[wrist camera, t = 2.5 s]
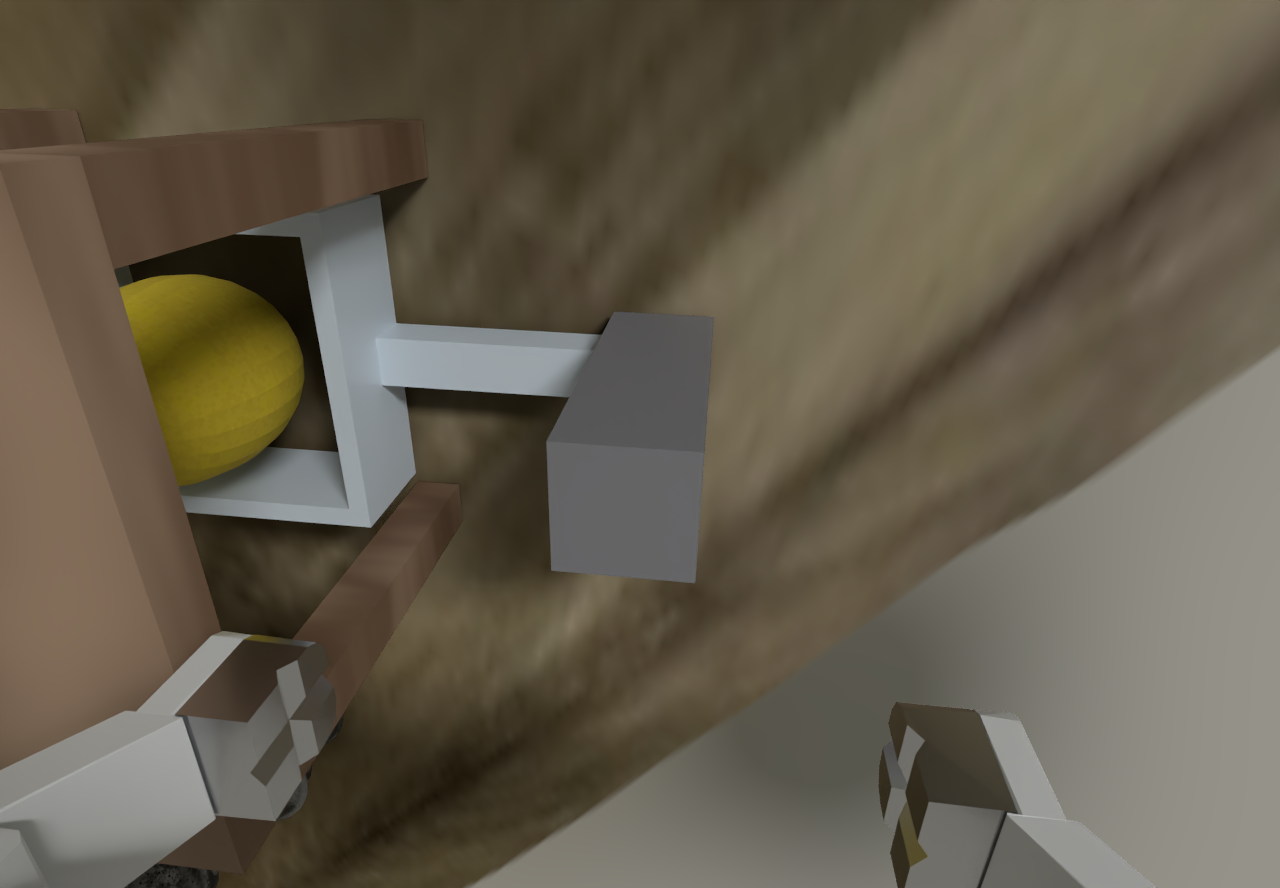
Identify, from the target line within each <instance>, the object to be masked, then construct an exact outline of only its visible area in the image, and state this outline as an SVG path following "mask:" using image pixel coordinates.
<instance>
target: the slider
mask: <svg viewBox="0 0 1280 888" xmlns="http://www.w3.org/2000/svg"><path fill="white" fill-rule="evenodd" d="M236 234H245V235H267V236H289V237H300V240H301V245H302V251H303V257H304V262H305V268H306V273H307V279H308V284H309V290H310V295H311V301H312V306H313V312H314V317H315V323H316V328H317V334H318V340H319V345H320V351H321V356H322V362H323V367H324V373H325V378H326V384H327V389H328V395H329V400H330V406H331V411H332V417H333V423H334V428H335V434H336V439H337V445H338V450H339V452H330V451H316V450H303V449H289V448H275V447H266V448H265V449H263V450H262V451H261V452H260V453H259V454H257V455H256V456H255V457H253V458H252V459H250V460H249V461H247V462H246V463H244V464H242V465H240V466H238V467H236V468H234V469H231V470H229V471H227V472H224V473H222V474H220V475H217V476H215V477H213V478H211V479H208V480H205V481H202V482H199V483H195V484H191V485H186V486H179V490H180V494H181V497H182V501H183V504H184V507H185V511H186V512H189V513H201V514H213V515H225V516H238V517H250V518H262V519H274V520H286V521H298V522H310V523H322V524H334V525H346V526H358V527H370V528H371V527H372V526H373V525H374V523H375V522H376V521H377V520H378V519H379V517H380V516H381V515H382V514H383V512H384V511H385V510H386V509H387V508H388V506H389V505H390V504H391V503H392V501H393V500H394V499H395V498H396V497H397V495H398V494H399V493H400V492H401V490H402V489H403V488H404V487H405V486H406V484H407V483H408V482H409V481H410V479H411V478H412V477H413V476H414V475H415V473H416V471H415V464H414V456H413V448H412V441H411V433H410V425H409V417H408V410H407V402H406V394H405V387H416V388H432V389H448V390H463V391H479V392H494V393H510V394H525V395H541V396H556V397H569V399H568V401H567V403H566V405H565V407H564V409H563V410H562V412H561V414H560V416H559V418H558V420H557V422H556V424H555V426H554V428H553V430H552V432H551V433H550V435H549V437H548V439H547V441H546V446H547V471H548V497H549V523H550V549H551V571H561V572H573V573H584V574H596V575H608V576H619V577H631V578H642V579H654V580H665V581H677V582H689V583H695V579H696V565H697V551H698V537H699V523H700V508H701V494H702V480H703V466H704V452H705V438H706V423H707V409H708V395H709V380H710V366H711V352H712V337H713V323H714V317H706V316H687V315H668V314H650V313H631V312H614V313H613V314H612V316H611V318H610V320H609V322H608V324H607V326H606V328H605V330H604V332H603V334H602V335H595V334H577V333H559V332H541V331H524V330H506V329H488V328H470V327H453V326H435V325H417V324H399V323H396V317H395V310H394V302H393V294H392V287H391V279H390V271H389V264H388V256H387V248H386V241H385V233H384V225H383V217H382V210H381V202H380V195H372V194H369V195H366V196H362V197H359V198H356V199H352V200H349V201H345V202H342V203H339V204H335V205H332V206H328V207H325V208H321V209H318V210H315V211H311V212H308V213H304V214H301V215H298V216H294V217H291V218H287V219H284V220H281V221H277V222H274V223H270V224H267V225H264V226H260V227H257V228H253V229H250V230H246V231H243V232H240V233H236ZM114 272H115V275H116V279H117V282H118V285H119V288H120V287H123V286H126V285H129V284H131V283H133V279H132V276H131V272H130V269H129V265H127V266H124V267H120V268H117V269H114Z"/></svg>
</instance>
